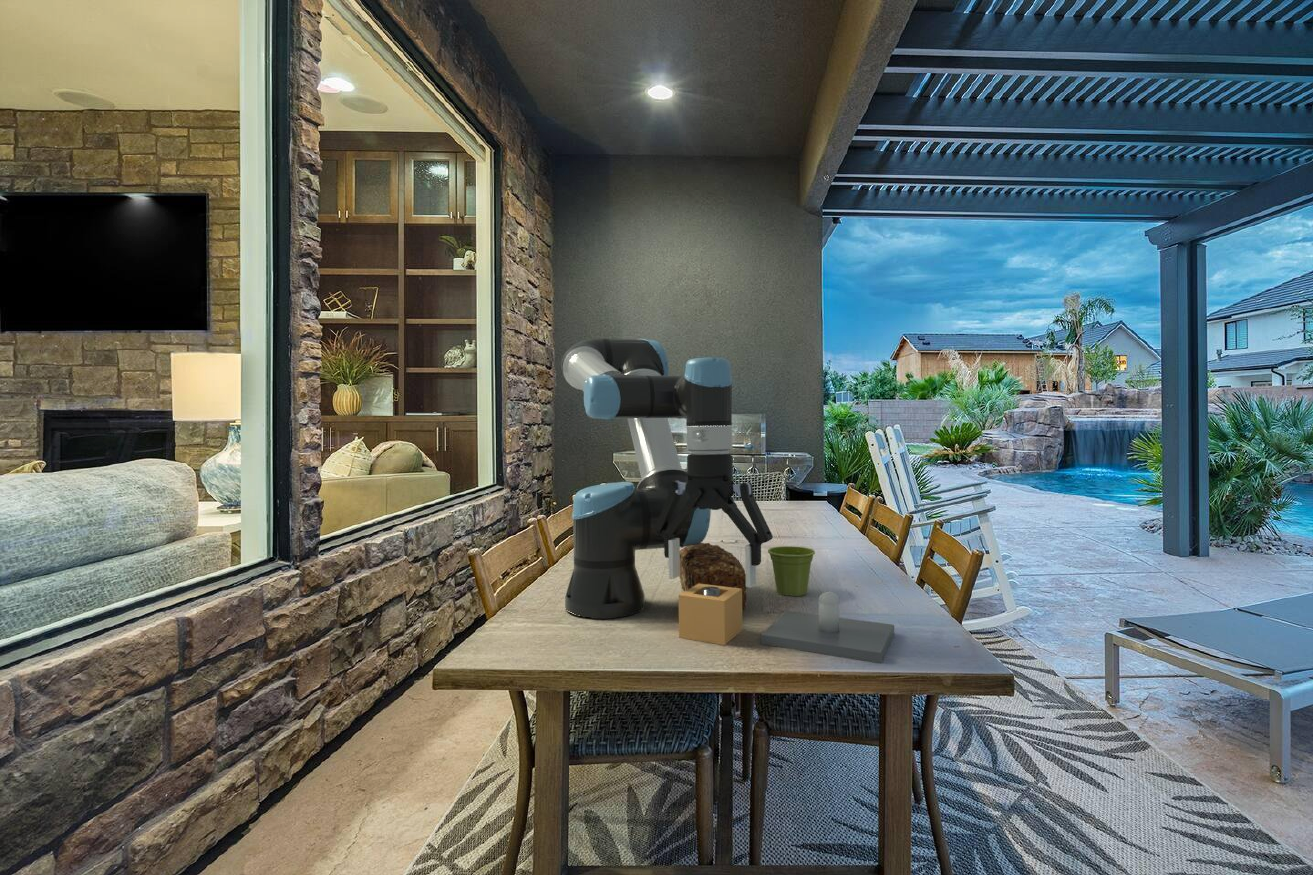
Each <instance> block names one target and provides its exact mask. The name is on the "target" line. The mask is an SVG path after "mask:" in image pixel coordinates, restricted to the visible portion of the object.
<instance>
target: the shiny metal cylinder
mask: <svg viewBox="0 0 1313 875" xmlns="http://www.w3.org/2000/svg"><path fill="white" fill-rule="evenodd" d="M702 595H707V596H714V597H719V588H718V587H704V588H702Z"/></svg>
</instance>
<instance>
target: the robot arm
mask: <svg viewBox="0 0 1313 875" xmlns="http://www.w3.org/2000/svg"><path fill="white" fill-rule="evenodd" d="M560 362H561V364H560V368H561V373H562V376H563V378H564V380H565V381H566V382H567V383H568V384H569V385H570V386H571V387H572V388H575V389H576V390H580V391H582V392H583V405H584V409H585V413H586V415H587V417H589V418H591V419H600V420H601V419H603V420H606V421H607V420H612V419H613V420H615V419H619V420H620V419H621V420H623V419H627V423H628V426H629V430H630V435H631V440H632V443H633V449H634V453H635V457H636V461H637V466H638V470H639V474H640V479H641V480H640V481H639V482H638V484H637V487H635V484H634V483H633V482H630V481H619V482H607V483H602V484H597V485H592V486H587V487H584V488H583V489H580V490H578V491H577V492H576V494H575V495H574V497H573V499H572V500H573V504H572V514H571V519H572V522H573V523H572V527H573V528H572V529H573V532H572V533H573V534H572V535H573V537H572V538H573V569H572V573H571V576H570V579H569V583H568V586H567V589H566V593H565V595H564V597H565V598H564V604H565V607H564V609H565V608H566V609H565V611H566V610H568V611H570V612H572V613H574V614H576V615H580V616H584V617H583V618H585V617H593V618H592V619H615V618H623V617H627V616H631V615H634V614H637V613H639V612H641V611H642V610H644V608H645V607H646V604H645V603H646V599H645V597H646V596H645V591H644V588H643V585H642V582H641V579H640V577H639V574H638V570H637V568H636V551H638V550H639V551H640V550H653V549H654V550H655V549H664V552H663V555H664V557H665V558H666V559H668V579H669V580H675V579H676V578H678V577H679V578H680V550H681V549H680V548H682V549H683V548H684V547H685V546H691V545H697V544H700V543H703V541H704V540H705V539H706V537H707V535H708V531H709V528H710V523H711V514H712V513H711V512H712V510H713V511H717V510H722V511H723V512H724V513H725V514H726V515H727V516H728V517H729V519H730V520H731V521H732V523H733V524H734V526H736V528H737V529H738V530H739V531H740V533H741V534H742V536H743V537H744V539H745V540H747V541H748V544H747V545H745V546H744V548H745V550H744V551H745V552H744V553H745V554H744V556H745V557H744V558H745V562H744V563H745V568H744V569H745V574H746V587H747V588H752V587H754V586H755V585H756V583H757V572H756V571H757V570H756V568H757V566H759V565H760V564H761V563H762V545H763V544H765V543H767V542H770V541H771V540H773V533H772V532H771V529H770V527H769V525H768V523H767V521H766V519H765V517H764V514H763V513H762V511H761V508H760V507H759V504H758V503H757V500H756V499H755V496H754V489H753V484H752V482H750V481H747V482H743V483H737V484H736V483H734V482H735V481H734V479H733V477H734V475H733V474H734V470H733V469H734V468H733V466H734V462H733V457H734V456H733V455H732V453H730V451H732V450H733V449H734V448H733V447H734V446H733V423H732V420H733V419H732V417H733V413H732V411H733V410H732V409H733V408H732V406H733V403H732V402H733V399H732V398H733V395H732V394H733V393H732V392H733V390H732V389H733V386H732V385H733V378H732V369H731V362H730V361H729V360H728V359H726V358H723V357H696V358H695V357H694V358H691V359H688V360H687V361H686V362H685V368H684V369H685V372H684V375H669V373H670V372H669V371H670V370H669V365H668V362H669V359H668V356H667V353H666V350H665V348H664V346H663V345H662V344H661V343H660V342H659V341H657V340H652V339H646V338H638V339H637V338H636V339H633V338H632V339H631V338H630V339H629V338H601V337H597V338H589V339H585V340H581V341H579V342H577V343H574V344H573V345H572V346H571V347H569V348H568V349H567V350H566V351H565V353H564V354H563V356H562V358H561V361H560ZM669 419H679V420H680V419H685V420H686V450H687V451H688V452H690V453H689V454H687V456H686V470H684V469H682V465H681V461H680V459H679V458H680V457H679V455H678V451H677V447H676V443H675V439H674V437H673V432H672V429H671V426H670V422H669ZM735 493H737V495H738V497H739V498H741V501H742V503H743V506H744V508H745V509H746V512H747V515H748V516H749V518H750V521H751V523H752V524H753V525H752V524H751V523H750V521H749V520H748V519H747V517H746V516H744V514H743V513H742V511H741V510H740V509H739V507H738V505H737V503H736V502H735V501H734V500H733V498H732V496H733V495H734V494H735Z"/></svg>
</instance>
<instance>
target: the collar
mask: <svg viewBox="0 0 1313 875" xmlns="http://www.w3.org/2000/svg"><path fill="white" fill-rule="evenodd" d="M704 587H718V588H719V597H714V596H707V595H702V588H704ZM742 631H743V611H742V589H740V588H732V587H724V586H715V585H707V584H697V585H695V586H693V587H692V588H690V589H688V590H686V591H685V592H684V591H683V592H681V593H680V594H678V638H680V639H684V640H685V639H686V640H692V641H697V642H704V643H710V644H716V645H723V646H725V645H727V644H728V643H729V642H730V641H731V640H733V638H735V637H736V636H737V635H738V634H739V633H741V632H742Z"/></svg>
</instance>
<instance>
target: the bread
mask: <svg viewBox="0 0 1313 875" xmlns="http://www.w3.org/2000/svg"><path fill="white" fill-rule="evenodd" d="M679 579H680V585H681V589H682V590H683V592H685V591H686V590H688V589H690V588H692V587H693V586H695V585H697V584H707V585H715V586H724V587H732V588H740V589H742V612H743V611H745V610H746V607H747V606H746V605H747V599H748V598H747V597H748V593H747V588H748V587H746V569H745V568H744V567H743V564H741V561H740V560H738V558H737V557H736V556H735V555H734V554H733V553H732V552H730V551H727V550H725V548H722V547H720V545H718V544H714V545H713V544H711V543H709V542H707V543H706V542H705V543H704V542H701V543H700V544H697V545H691V546H684V547H683V548H682V549H680V576H679Z"/></svg>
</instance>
